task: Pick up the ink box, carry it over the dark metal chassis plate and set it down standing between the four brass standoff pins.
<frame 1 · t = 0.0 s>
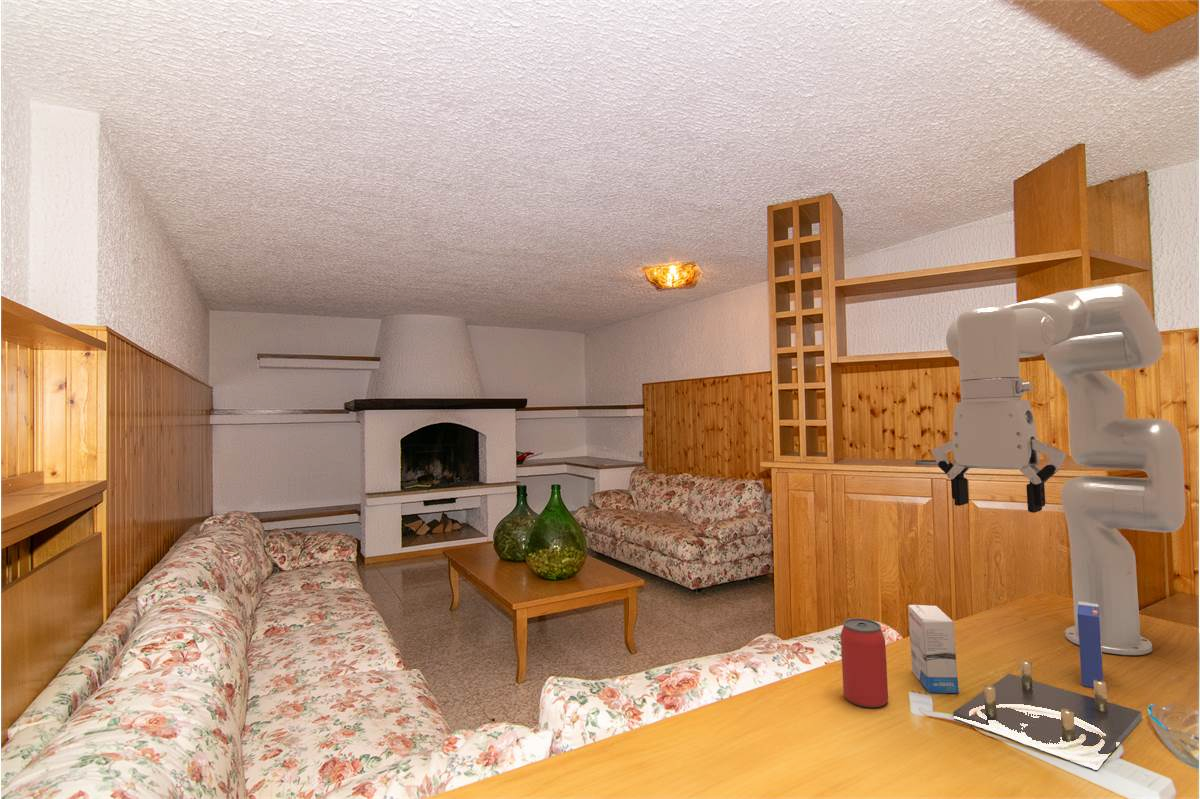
hand: (996, 507, 89), 31 cm above the table, tool pointing down, fingers open, 9 cm apart
ink box: (934, 683, 101), on the table
beer can: (865, 700, 96), on the table
chassis: (1046, 718, 88), on the table
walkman: (1092, 680, 100), on the table
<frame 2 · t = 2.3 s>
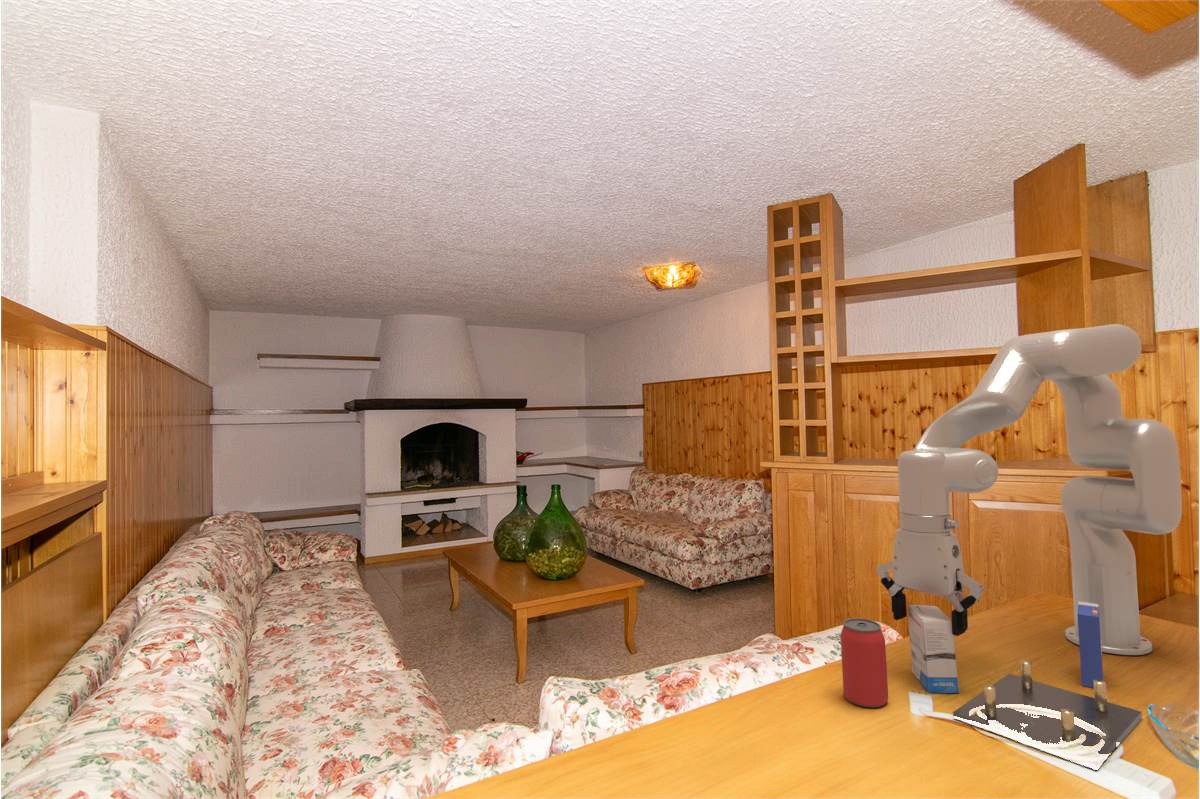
hand: (928, 625, 101), 9 cm above the table, tool pointing down, fingers open, 9 cm apart
nothing on the table moved.
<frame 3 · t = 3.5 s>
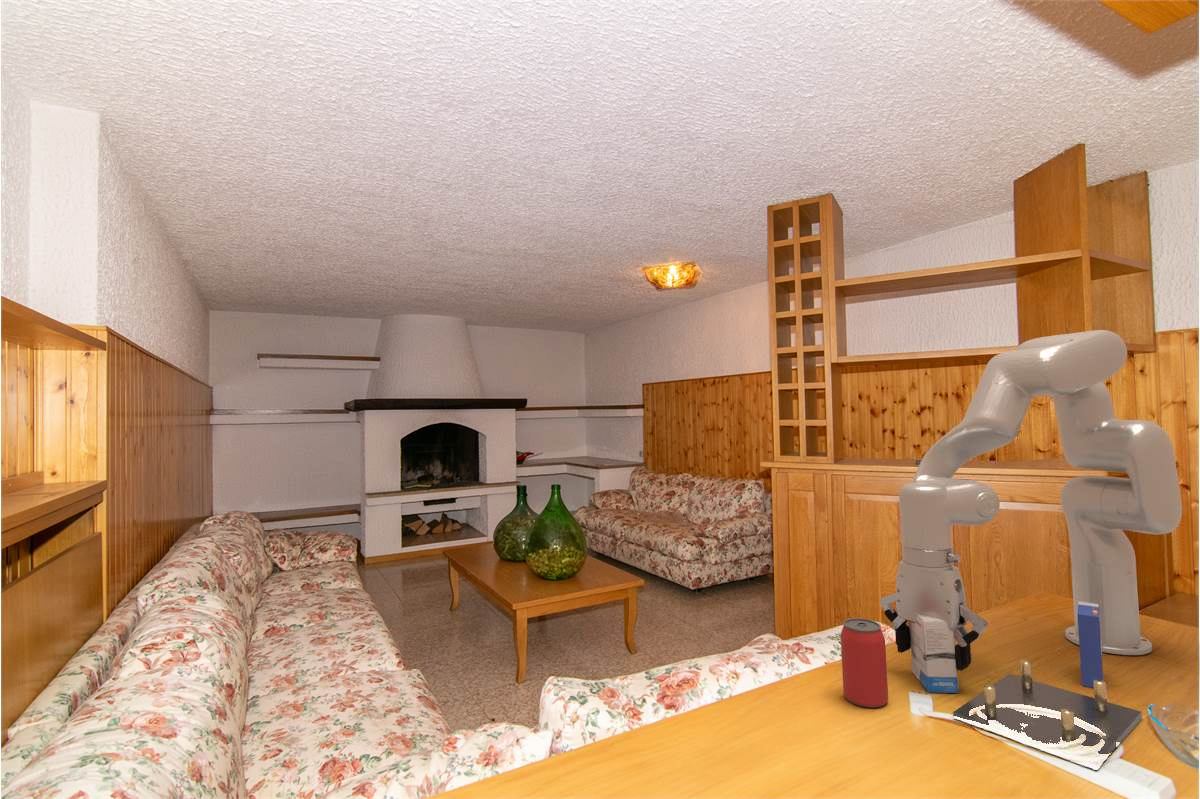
hand: (932, 659, 101), 4 cm above the table, tool pointing down, fingers closed on ink box, 9 cm apart
ink box: (933, 683, 101), on the table, touching gripper
everything else where it was.
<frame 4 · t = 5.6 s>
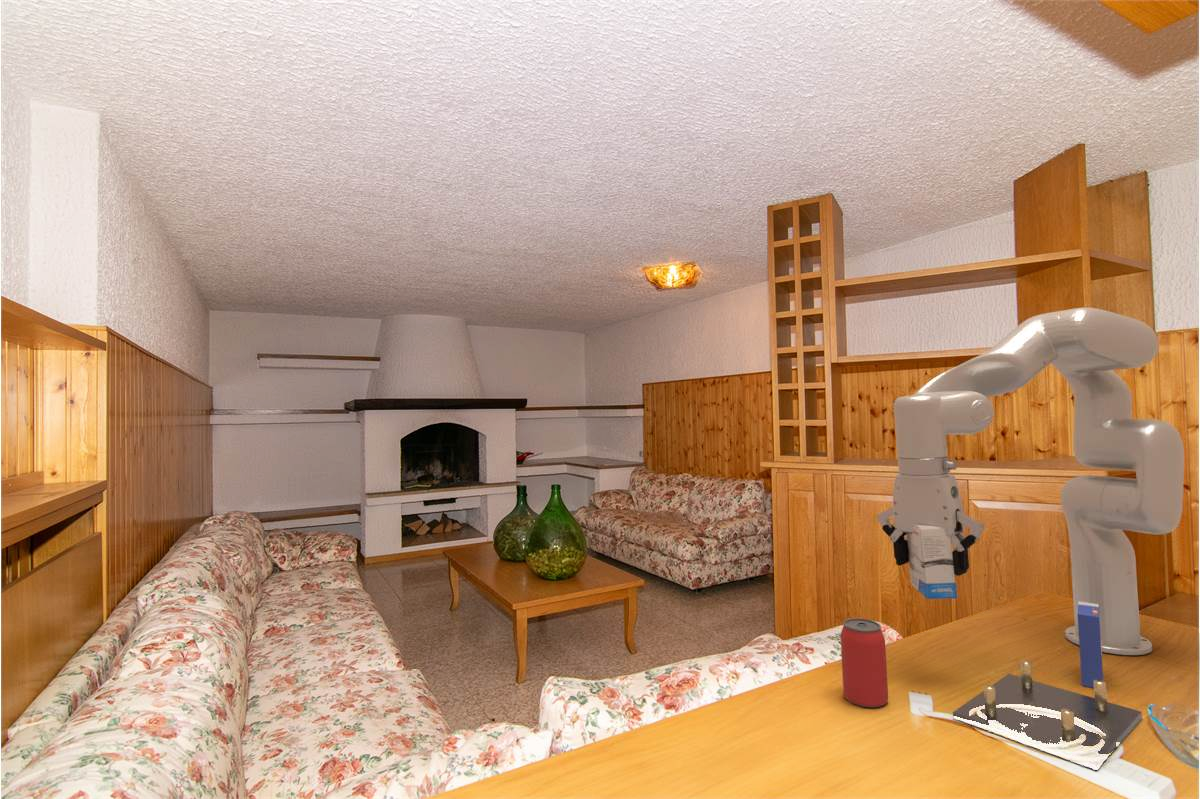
hand: (930, 568, 102), 19 cm above the table, tool pointing down, fingers closed on ink box, 9 cm apart
ink box: (932, 592, 102), point 15 cm above the table, touching gripper
everything else where it was.
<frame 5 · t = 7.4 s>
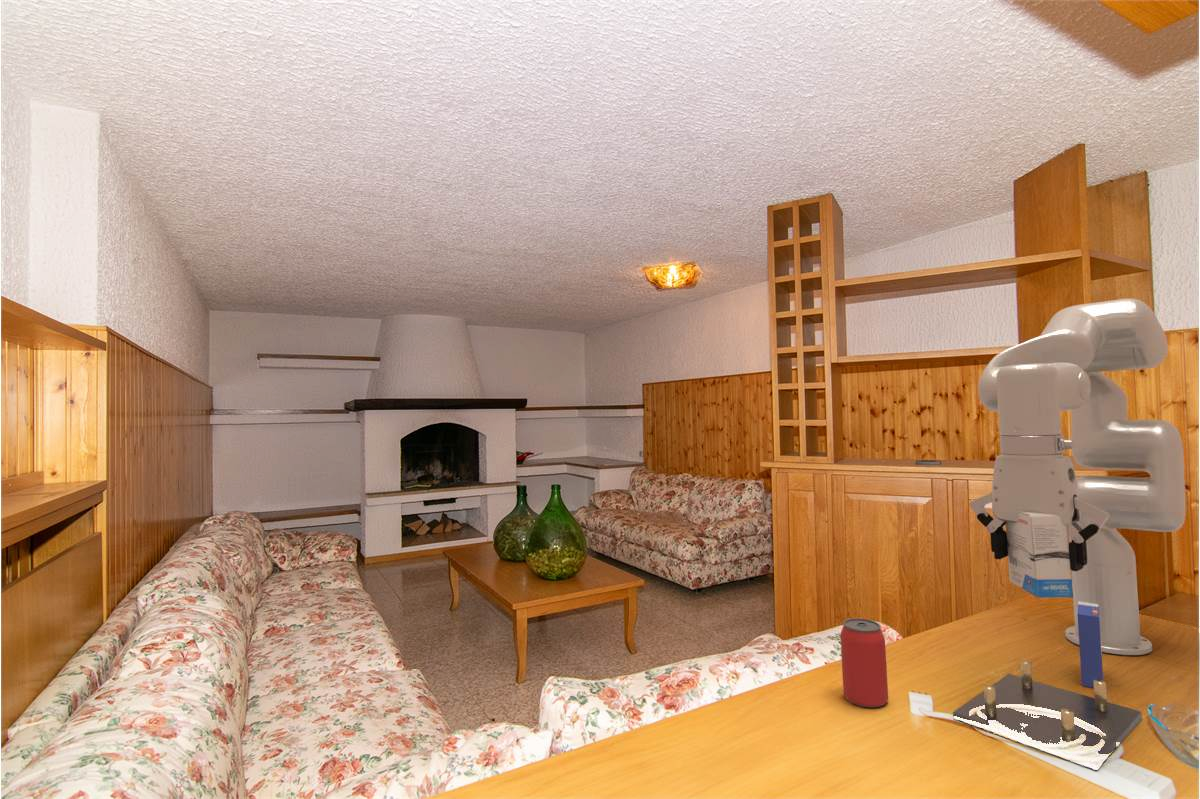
hand: (1037, 563, 89), 23 cm above the table, tool pointing down, fingers closed on ink box, 9 cm apart
ink box: (1039, 590, 89), point 19 cm above the table, touching gripper
everything else where it was.
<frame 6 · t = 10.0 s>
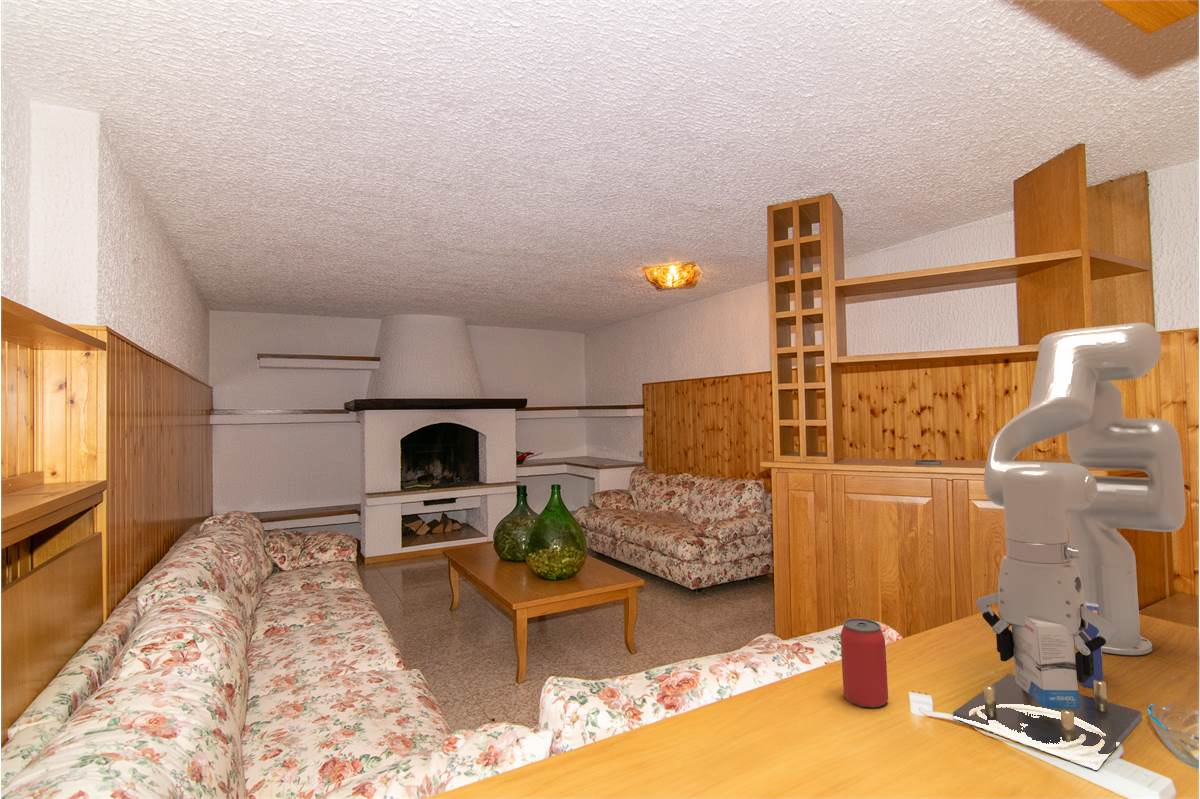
hand: (1043, 668, 88), 7 cm above the table, tool pointing down, fingers closed on ink box, 9 cm apart
ink box: (1045, 696, 88), point 3 cm above the table, touching gripper
everything else where it was.
when the fingers open (6 cm above the table, at t = 11.5 s): ink box drops 1 cm, resting on chassis.
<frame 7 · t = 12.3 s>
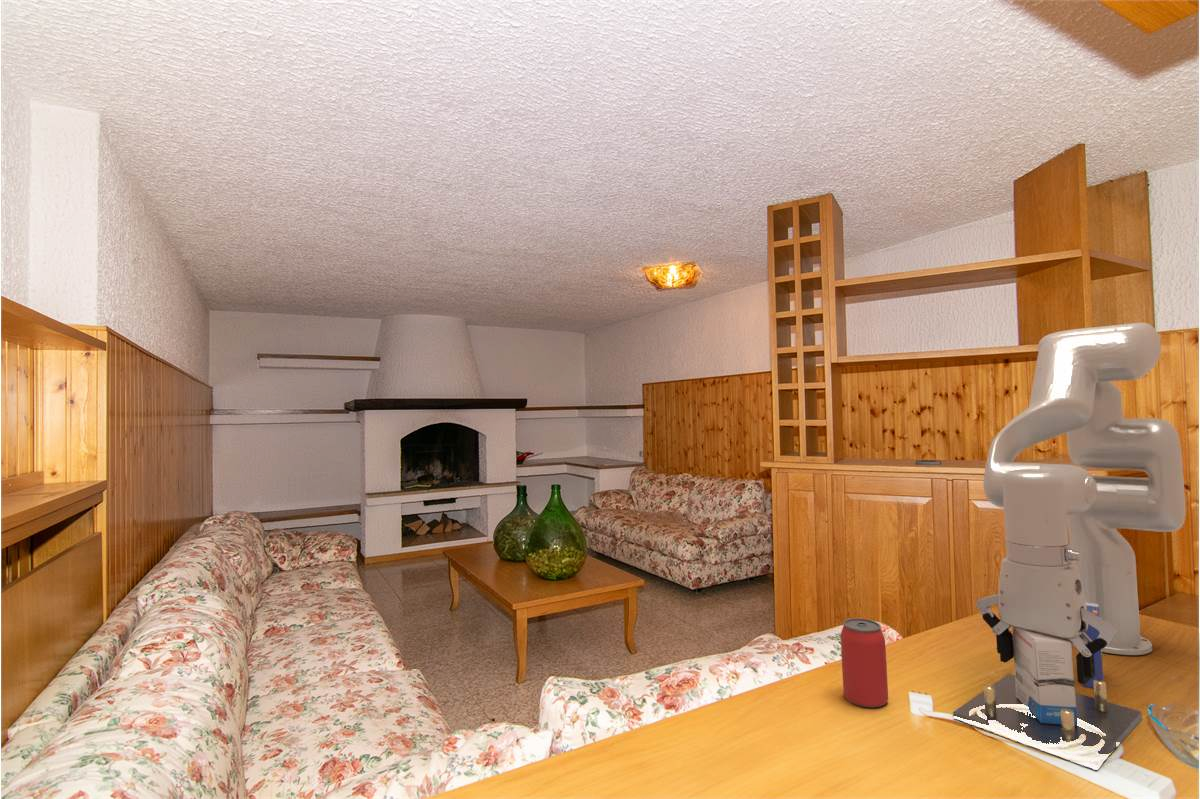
hand: (1044, 670, 89), 7 cm above the table, tool pointing down, fingers open, 9 cm apart
ink box: (1044, 712, 89), point 1 cm above the table, touching chassis
everything else where it was.
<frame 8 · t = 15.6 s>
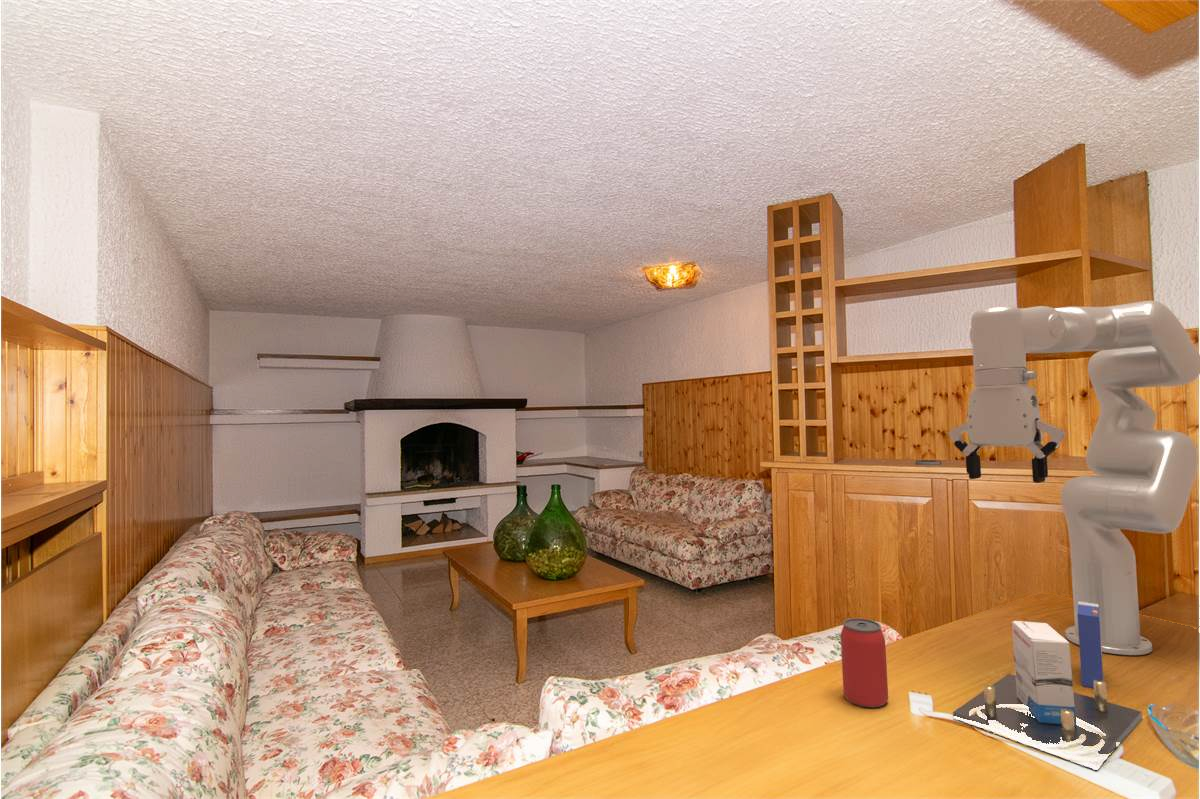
hand: (1005, 480, 103), 33 cm above the table, tool pointing down, fingers open, 9 cm apart
nothing on the table moved.
at the end: ink box 0.4 cm off-centre on the chassis, point 0.8 cm above the chassis's base; ink box tilted 0°; the gripper is holding nothing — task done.
